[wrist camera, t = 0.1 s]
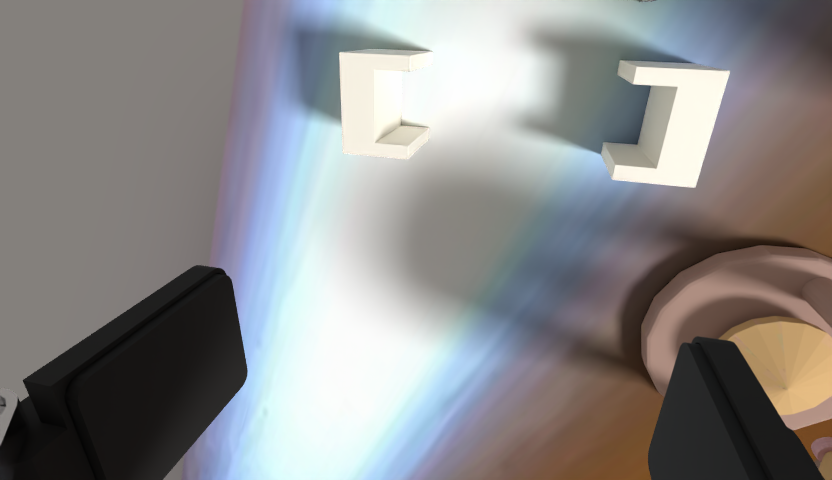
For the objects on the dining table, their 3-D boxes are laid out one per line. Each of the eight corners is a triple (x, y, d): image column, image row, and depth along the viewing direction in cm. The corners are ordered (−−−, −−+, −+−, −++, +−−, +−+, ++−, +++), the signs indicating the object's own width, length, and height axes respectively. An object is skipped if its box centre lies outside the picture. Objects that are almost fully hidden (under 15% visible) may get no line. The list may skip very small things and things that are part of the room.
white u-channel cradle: (372, 48, 38) (339, 52, 32) (694, 63, 33) (730, 71, 26) (373, 134, 41) (342, 153, 34) (669, 160, 36) (695, 187, 29)
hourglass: (755, 201, 35) (1105, 486, 13) (939, 327, 36) (1577, 809, 14) (597, 344, 44) (651, 666, 22) (747, 445, 44) (952, 864, 22)
